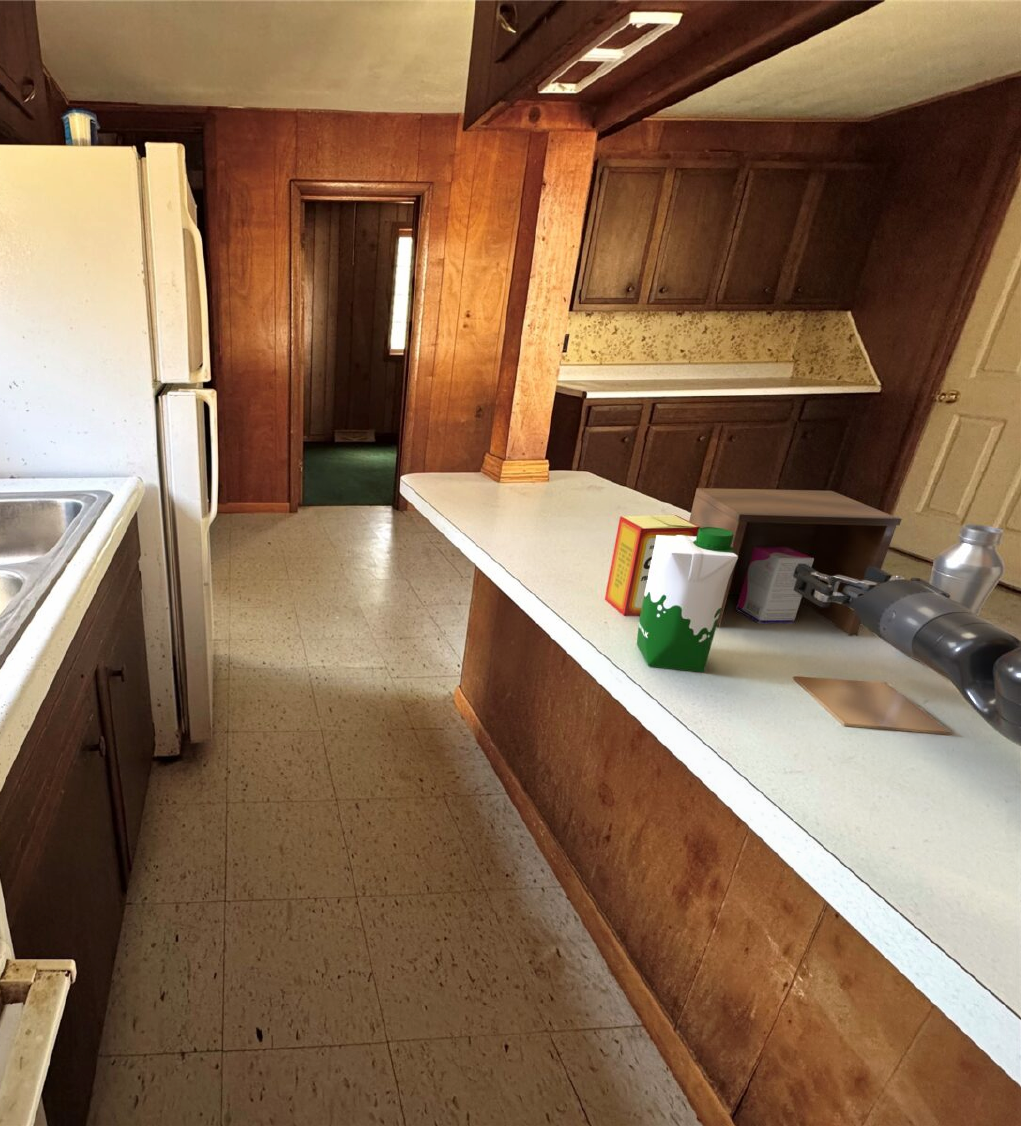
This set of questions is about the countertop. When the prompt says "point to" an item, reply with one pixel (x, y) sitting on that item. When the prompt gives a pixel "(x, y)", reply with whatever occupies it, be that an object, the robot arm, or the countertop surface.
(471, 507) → the countertop surface
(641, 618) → the milk carton
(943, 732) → the cork mat
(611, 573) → the baking soda box
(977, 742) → the countertop surface
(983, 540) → the silver metal bottle
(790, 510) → the cupboard
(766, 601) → the supplement box
